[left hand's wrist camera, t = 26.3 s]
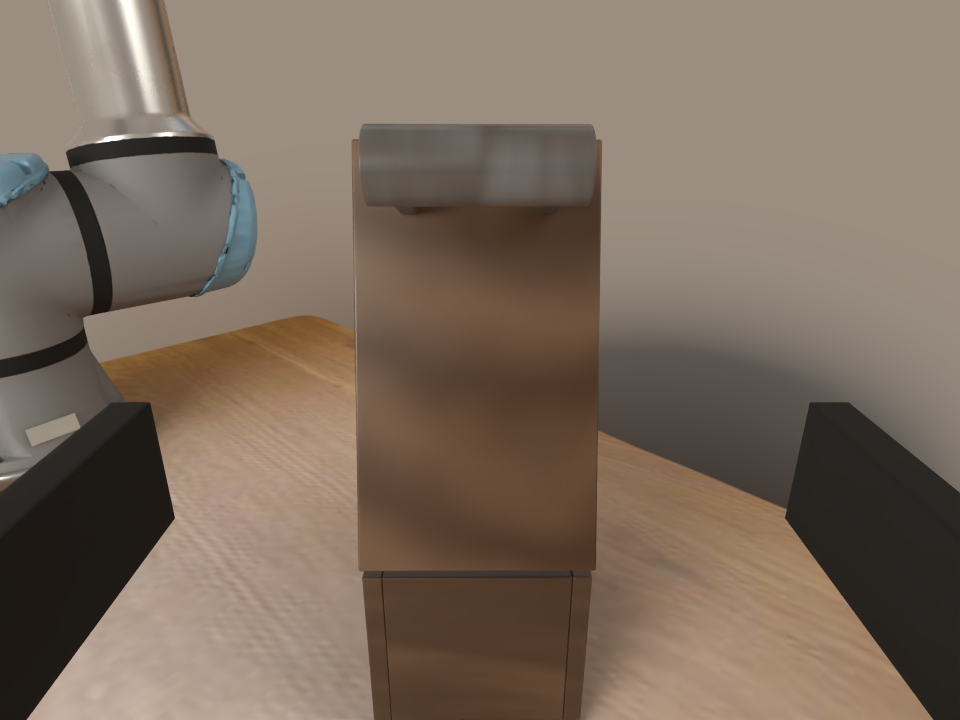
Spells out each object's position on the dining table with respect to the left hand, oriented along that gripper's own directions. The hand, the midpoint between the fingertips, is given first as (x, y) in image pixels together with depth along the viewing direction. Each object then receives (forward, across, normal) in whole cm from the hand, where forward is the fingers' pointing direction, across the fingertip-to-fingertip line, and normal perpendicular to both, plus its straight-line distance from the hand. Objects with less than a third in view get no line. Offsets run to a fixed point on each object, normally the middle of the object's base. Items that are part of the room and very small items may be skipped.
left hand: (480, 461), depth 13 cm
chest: (+18, 0, -20) cm, 27 cm away
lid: (+13, 0, -3) cm, 13 cm away
